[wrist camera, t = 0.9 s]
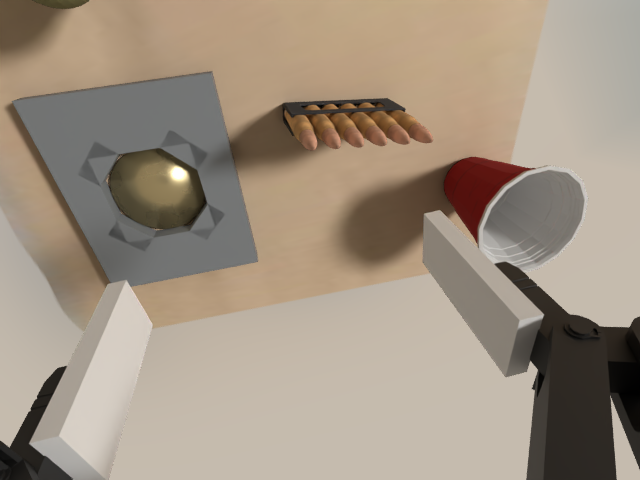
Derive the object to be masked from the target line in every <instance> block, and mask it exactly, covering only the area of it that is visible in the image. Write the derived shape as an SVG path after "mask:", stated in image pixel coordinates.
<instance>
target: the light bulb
mask: <svg viewBox="0 0 640 480" xmlns="http://www.w3.org/2000/svg"><path fill="white" fill-rule="evenodd" d="M33 1H35V2H37V3H39V4H42V5H45V6H48V7H52V8H58V9H69V8H75V7H79V6H81V5H83V4H85V3H86V2H88V1H89V0H33Z"/></svg>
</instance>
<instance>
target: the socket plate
mask: <svg viewBox="0 0 640 480" xmlns="http://www.w3.org/2000/svg"><path fill="white" fill-rule="evenodd" d="M12 102H13V104H14V106H15V108H16V110H17V112H18V114H19V115H20V117H21V119H22V121H23V123H24V125H25V126H26V128H27V130H28V132H29V134H30V136H31V137H32V139H33V141H34V143H35V145H36V147H37V148H38V150H39V152H40V154H41V156H42V158H43V159H44V161H45V163H46V165H47V167H48V169H49V170H50V172H51V174H52V176H53V178H54V180H55V181H56V183H57V185H58V187H59V189H60V191H61V193H62V194H63V196H64V198H65V200H66V202H67V204H68V205H69V207H70V209H71V211H72V213H73V215H74V216H75V218H76V220H77V222H78V224H79V226H80V227H81V229H82V231H83V233H84V235H85V237H86V238H87V240H88V242H89V244H90V246H91V248H92V249H93V251H94V253H95V255H96V257H97V259H98V261H99V262H100V264H101V266H102V268H103V270H104V272H105V273H106V275H107V277H108V279H109V281H110V283H114V282H119V281H123V280H127V282H128V283H129V285H130V287H132V286H137V285H142V284H147V283H152V282H158V281H163V280H168V279H173V278H178V277H183V276H188V275H193V274H198V273H203V272H209V271H214V270H219V269H224V268H229V267H234V266H239V265H244V264H249V263H255V262H258V257H257V251H256V247H255V243H254V239H253V235H252V231H251V227H250V223H249V219H248V215H247V211H246V207H245V203H244V199H243V195H242V191H241V186H240V182H239V178H238V174H237V170H236V166H235V162H234V158H233V154H232V150H231V146H230V142H229V138H228V134H227V130H226V126H225V122H224V118H223V114H222V110H221V105H220V101H219V97H218V93H217V89H216V85H215V81H214V77H213V73H212V71H210V72H203V73H196V74H189V75H182V76H175V77H167V78H160V79H153V80H146V81H139V82H132V83H125V84H118V85H110V86H103V87H96V88H89V89H82V90H75V91H68V92H61V93H54V94H46V95H39V96H32V97H25V98H20V99H17V100H14V101H12ZM124 153H127V154H125V155H124V156H123V157H122V158H121V159H120V160H119V161H118V162H117V163H116V165H115V166H114V164H115V162H116V161H117V159H118V157H119V155H120V154H124ZM113 166H114V168H113ZM112 168H113V170H112ZM111 170H112V173H111V178H110V188H111V191H110V188H109V186H108V184H107V182H106V179H107V177H108V175H109V173H110V172H111ZM111 192H112V193H111ZM204 195H205V197H206V200H207V202H206V203H205V205H204V206H203V208H202V205H203V201H204ZM117 205H118V206H119V208H120V209H121V210H122V211H123V212H124V213H125V214H126V215H127V216H128V217H127V216H125V215H123V214H121V212H120V210H119V208H118V206H117ZM201 208H202V209H201ZM200 209H201V211H200ZM199 211H200V212H199ZM198 213H199V214H198ZM197 214H198V215H197ZM196 215H197V217H196V218H195V220H194V221H193V223H192V224H191V225H185V226H182V225H184V224H186V223H188V222H189V221H191V220H192V219H193V218H194V217H195V216H196ZM129 217H130V218H129ZM147 226H148V227H147ZM179 226H180V227H179ZM149 227H152V228H157V229H163V230H158V231H156V230H154V229H152V228H149Z"/></svg>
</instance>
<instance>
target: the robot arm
mask: <svg viewBox="0 0 640 480" xmlns="http://www.w3.org/2000/svg"><path fill="white" fill-rule="evenodd" d="M423 263H424V265H425V266H426V268H427V269H428V270H429V272H430V273H431V274H432V276H433V277H434V279H435V280H436V281H437V283H438V284H439V286H440V287H441V288H442V289H443V291H444V293H445V294H446V295H447V297H448V298H449V299H450V301H451V302H452V304H453V305H454V306H455V308H456V309H457V311H458V312H459V313H460V315H461V316H462V317H463V319H464V320H465V322H466V323H467V324H468V326H469V327H470V329H471V330H472V331H473V333H474V334H475V336H476V337H477V338H478V340H479V341H480V343H481V344H482V345H483V347H484V348H485V349H486V351H487V352H488V354H489V355H490V356H491V358H492V359H493V361H494V362H495V363H496V365H497V366H498V367H499V369H500V370H501V371H502V373H503V374H504V376H505V377H508V376H512V375H516V374H520V373H524V372H527V369H528V366H529V362H530V361H531V362H532V363H533V364H534V365H535V366H536V368H537V369H538V372H537V375H536V378H535V381H534V384H533V388H532V389H533V390H535V396H534V406H533V416H532V427H531V437H530V447H529V458H528V469H527V479H526V480H617V479H616V465H615V452H614V439H613V427H612V413H611V399H610V395H611V398H612V400H613V403H614V405H615V408H616V411H617V413H618V416H619V418H620V421H621V423H622V425H623V428H624V431H625V433H626V436H627V438H628V441H629V443H630V446H631V448H632V451H633V454H634V456H635V459H636V461H637V464H638V466H639V469H640V317H637V318H635V319H634V320H633V322H632V324H631V326H630V327H629V328H627V327H600V326H598V325H597V324H596V323H594V322H593V321H591V320H589V319H587V318H584V317H581V316H578V315H570V314H568V313H567V312H566V311H565V310H564V309H562V307H561V306H559V305H558V304H557V303H556V302H555V301H554V300H553V299H552V298H551V297H550V296H549V295H548V294H546V293H545V292H544V291H543V290H542V289H541V288H540V287H539V286H537V284H536V283H535V282H533V281H532V280H531V279H529V277H528V276H527V275H526V274H525V273H524V272H523V271H522V270H521V269H520V268H518V267H516V266H514V265H512V264H510V263H508V262H506V261H504V262H499V263H495V264H493V263H492V262H491V261H490V260H489V259H488V258H487V257H486V256H485V255H484V254H483V253H482V252H481V251H480V250H479V249H478V248H477V247H476V246H475V245H474V244H473V243H472V242H471V241H470V240H469V239H468V238H467V237H466V236H465V235H464V234H463V233H462V232H461V231H460V230H459V229H458V228H457V227H456V226H455V225H454V224H453V223H452V222H451V221H450V220H449V219H448V218H447V217H446V216H445V215H444V214H443V213H442V212H441V211H440V210H438V211H434V212H429V213H425V214H424V225H423ZM152 326H153V324H152V323H151V321H150V319H149V318H148V316H147V314H146V312H145V311H144V309H143V307H142V306H141V304H140V302H139V301H138V299H137V297H136V295H135V294H134V292H133V290H132V289H131V287H130V285H129V283H128V282H127V280H123V281H119V282H114V283H110V284H108V285H107V287H106V289H105V291H104V293H103V295H102V297H101V299H100V301H99V303H98V305H97V307H96V309H95V311H94V313H93V315H92V317H91V319H90V321H89V323H88V325H87V327H86V329H85V331H84V333H83V336H82V337H81V340H80V341H79V343H78V345H77V348H76V349H75V352H74V354H73V356H72V358H71V360H70V362H69V364H68V366H64V367H60V368H57V369H56V370H55V371H54V372H53V374H52V375H51V376H50V377H49V378H48V379H47V380H46V381H45V383H44V384H43V387H42V388H41V390H40V392H39V394H38V396H37V399H36V400H35V401H34V403H33V405H32V407H31V411H30V412H28V414H27V416H26V418H25V420H24V422H23V424H22V426H21V427H20V429H19V431H18V433H17V435H16V437H15V439H14V441H13V442H12V444H11V446H10V448H9V447H8V446H6V445H5V444H4V443H3V442H1V441H0V480H109V476H110V473H111V469H112V466H113V462H114V459H115V455H116V452H117V448H118V445H119V441H120V438H121V434H122V431H123V427H124V424H125V420H126V417H127V413H128V410H129V406H130V403H131V399H132V396H133V392H134V389H135V385H136V382H137V378H138V375H139V371H140V368H141V364H142V361H143V357H144V354H145V350H146V347H147V343H148V340H149V336H150V333H151V329H152Z"/></svg>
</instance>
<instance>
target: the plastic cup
mask: <svg viewBox="0 0 640 480" xmlns="http://www.w3.org/2000/svg"><path fill="white" fill-rule="evenodd" d="M444 191H445V194H446V196H447V198H448V200H449V201H450V203H451V204H452V206H453V207H454V209H455V211H456V213H457V214H458V216H459V217H460V218H461V220H462V221H463V223H464V224H465V225H466V227H467V228H468V230H469V231H470V233H471V234H472V235H473V237H474V239H475V241H476V243H477V244H478V249H479V250H480V251H481V252H482V253H483V254H484V255H485V256H486V257H487V258H488V259H489V260H490V261H491V262H492V263H493V264H495V263H499V262H504V261H506V262H508V263H510V264H512V265H514V266H516V267H518V268H520V269H521V270H522V271H523V272H524V273H526V272H529V271H532V270H536V269H539V268H541V267H542V266H544V265H545V264H547V263H548V262H550V261H552V260H553V259H555V258H556V257H558V256H559V255H560V254H561V253H562V251H564V249H565V248H566V247H567V246H568V245H569V244H570V243H571V242H572V241H573V240H574V238H575V236H576V234H577V232H578V231H579V229H580V227H581V225H582V223H583V221H584V219H585V214H586V208H587V202H588V196H587V193H586V189H585V186H584V182H583V180H582V179H581V178H580V177H578V176H577V175H576V174H575V173H574V172H573V171H572V170H571V169H568V168H562V167H556V166H543V167H539V168H525V167H520V166H516V165H512V164H508V163H503V162H498V161H492V160H488V159H484V158H478V157H469V158H465V159H462V160H461V161H459V162H458V163H456V164H455V165H454V166H453V167H452V168H451V169H450V170H449V172H448V173H447V176H446V178H445V181H444Z"/></svg>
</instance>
